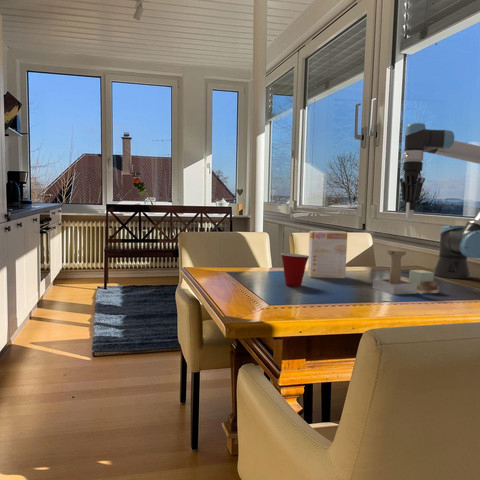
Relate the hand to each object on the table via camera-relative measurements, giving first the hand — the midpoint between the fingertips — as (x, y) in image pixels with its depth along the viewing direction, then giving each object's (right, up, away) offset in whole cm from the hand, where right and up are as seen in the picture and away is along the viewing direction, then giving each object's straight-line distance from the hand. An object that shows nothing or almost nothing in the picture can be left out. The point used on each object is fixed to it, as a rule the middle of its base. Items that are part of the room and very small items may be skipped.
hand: (409, 217), depth 189 cm
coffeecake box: (-35, -25, +2) cm, 43 cm away
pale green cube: (-4, -27, -22) cm, 35 cm away
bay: (-6, -28, -16) cm, 33 cm away
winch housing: (-15, -28, -25) cm, 40 cm away
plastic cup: (-51, -27, -20) cm, 61 cm away
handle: (-15, -28, -25) cm, 40 cm away
